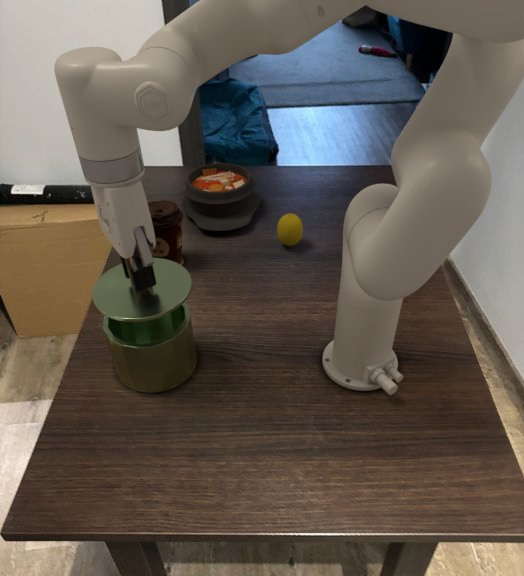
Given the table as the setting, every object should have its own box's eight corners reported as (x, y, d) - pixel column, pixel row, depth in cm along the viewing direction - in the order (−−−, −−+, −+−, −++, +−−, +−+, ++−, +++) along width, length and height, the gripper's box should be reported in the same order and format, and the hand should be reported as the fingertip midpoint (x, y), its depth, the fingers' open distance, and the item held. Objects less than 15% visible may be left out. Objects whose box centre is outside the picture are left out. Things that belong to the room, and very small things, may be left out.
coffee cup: (167, 280, 107) (157, 224, 98) (139, 265, 111) (127, 210, 102) (196, 259, 112) (189, 204, 103) (168, 246, 116) (159, 192, 107)
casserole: (181, 187, 135) (176, 156, 129) (253, 182, 136) (252, 150, 130) (184, 241, 117) (179, 207, 111) (266, 234, 119) (266, 200, 113)
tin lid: (209, 300, 78) (204, 260, 73) (114, 339, 73) (102, 298, 67) (167, 253, 87) (160, 214, 82) (80, 284, 82) (67, 245, 77)
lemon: (273, 241, 117) (273, 209, 111) (297, 237, 118) (298, 205, 112) (281, 255, 113) (282, 222, 107) (305, 250, 114) (307, 218, 108)
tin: (210, 371, 89) (204, 325, 82) (135, 405, 84) (122, 359, 77) (176, 326, 97) (168, 280, 90) (105, 354, 92) (91, 309, 85)
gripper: (63, 147, 69) (98, 263, 82) (106, 198, 59) (138, 320, 72) (117, 133, 72) (143, 247, 85) (167, 179, 62) (188, 301, 75)
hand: (140, 280), depth 78 cm, fingers closed on tin lid, 3 cm apart
